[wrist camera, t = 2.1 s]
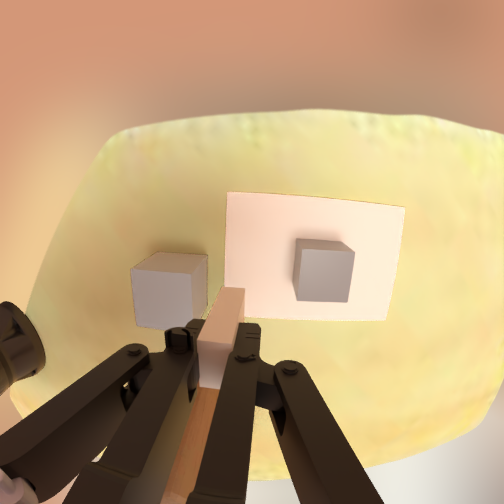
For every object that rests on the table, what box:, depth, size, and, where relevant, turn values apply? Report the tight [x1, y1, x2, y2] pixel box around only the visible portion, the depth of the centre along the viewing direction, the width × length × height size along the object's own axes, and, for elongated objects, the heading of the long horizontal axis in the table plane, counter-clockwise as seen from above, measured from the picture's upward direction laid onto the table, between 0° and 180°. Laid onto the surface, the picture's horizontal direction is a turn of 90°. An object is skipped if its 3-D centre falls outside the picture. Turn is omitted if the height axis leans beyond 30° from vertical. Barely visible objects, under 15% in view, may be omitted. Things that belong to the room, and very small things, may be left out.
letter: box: [224, 192, 405, 321], centre depth 30 cm, size 20×14×1 cm
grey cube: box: [292, 238, 355, 303], centre depth 27 cm, size 5×5×5 cm
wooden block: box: [160, 381, 220, 504], centre depth 26 cm, size 10×10×20 cm
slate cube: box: [131, 252, 208, 330], centre depth 28 cm, size 6×6×7 cm
